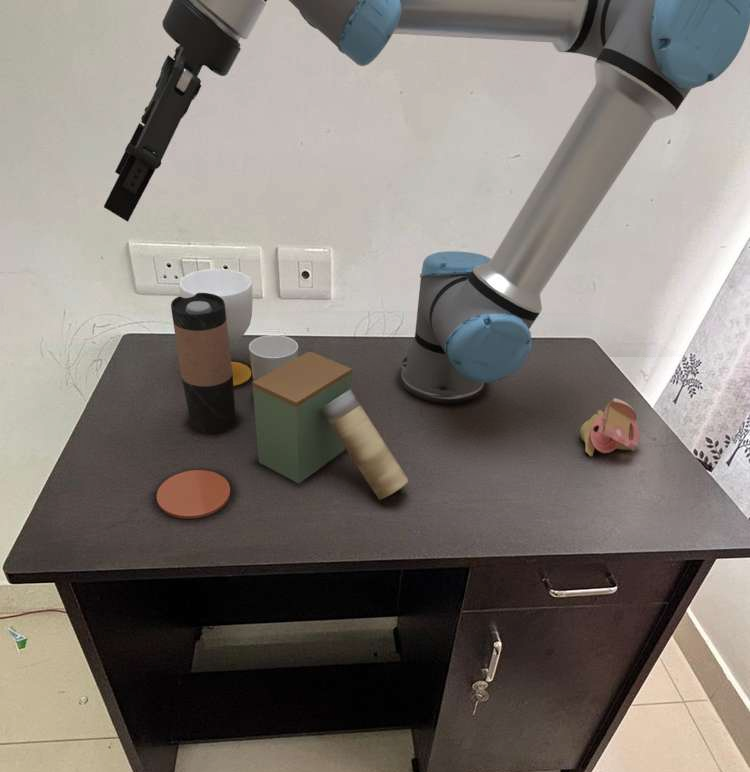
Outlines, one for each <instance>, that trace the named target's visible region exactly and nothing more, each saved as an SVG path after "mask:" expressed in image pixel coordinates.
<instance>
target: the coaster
mask: <svg viewBox="0 0 750 772" xmlns="http://www.w3.org/2000/svg"><path fill="white" fill-rule="evenodd" d="M230 498H231V486H230V483H229V481H228V480H227V479H226V478H225V477H224V476H223V475H221V474H219V473H217V472H214V471H211V470H205V469H193V470H187V471H182V472H179V473H176V474H174V475H172V476H170V477H169V478H167V479H166V480H164V482H163V481H162V483H161V485H160V486H159V487H158V489H157V492H156V502H157V505H158V508H160V510H161V511H162V512H163V513H165V514H166V515H168V516H171V517H173V518H176V519H182V520H196V519H201V518H205V517H209V516H210V515H213V514H215V513H217V512H219V511H220V510H222V508H224V507H225V506H226V505H227V504H228V502H229V500H230Z"/></svg>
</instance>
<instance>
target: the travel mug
mask: <svg viewBox="0 0 750 772" xmlns="http://www.w3.org/2000/svg"><path fill="white" fill-rule="evenodd" d="M170 310H171V317H172V323H173V329H174V336H175V344H176V349H177V356H178V362H179V369H180V376H181V381H182V387H183V392H184V396H185V401H186V406H187V412H188V417H189V420H190V425H191V427H192V428H193V429H194V430H196V431H198V432H200V433H203V434H204V433H205V434H218V433H223V432H225V431H228V430H229V429H231V428H232V427H233V426H234V425H235V424H236V403H235V386H233V373H232V363H231V361H232V355H231V347H230V343H229V337H228V328H227V319H226V311H225V303H224V300H223V299H222V298H221V297H219V296H217V295H214V294H209V293H197V294H196V295H195V296H193V297H190V298H183V297H181V295H180V296H177V297H175V298H174V299H173V300H172V301H171V303H170Z"/></svg>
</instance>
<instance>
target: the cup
mask: <svg viewBox="0 0 750 772" xmlns="http://www.w3.org/2000/svg"><path fill="white" fill-rule="evenodd" d="M178 285H179V287H178V289H179V292H180V296H181V297H183V298H190V297H193V296H195V295H196V294H197V293H209V294H214V295H217V296H219V297H221V298H222V299H223V300H224V303H225V311H226V319H227V328H228V337H229V344H230V343H234V342H237V341H238V340H240V339H241V338H243V336H244V335H245V334H246V332H247V331H248V329H249V327H250V326H251V321H252V317H253V304H254V303H253V302H254V300H253V299H254V298H253V297H254V295H253V294H254V293H253V279H252V278H251V277H250V276H248V275H247V274H246V273H245V272H241V271H238V270H235V269H228V268H208V269H207V268H206V269H201V270H196V271H193V272H191V273H188V274H186V275H184V276H183V277H182V278H181V279H180V280H179V284H178ZM231 363H232V373H233V386H234V387H237V386H241V385H243V384H244V383H246V382H248V381H249V380H250V378H251V377H252V369H251V368H250V367H249V366H248V365H246V364H243V363H241V362H237V361H232V360H231Z"/></svg>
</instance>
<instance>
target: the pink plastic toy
mask: <svg viewBox="0 0 750 772" xmlns="http://www.w3.org/2000/svg"><path fill="white" fill-rule="evenodd" d="M579 433H580V438H581V440H582V441H583V442H584V445H585V453H587V454H588V456H590V457H593V456H594V453H595V450H597V451H598V452H600V453H603V454H607V453H611V452H613V451H615V450H627V451H628V450H629V451H632V452H633V451H635V450H636V449H637V447H638V445H639V441H640V427H639V424H638V422H637V413H636V411H635V409H634V408H633V407H632V406H631V405H630V404H629V403H627V402H626V401H624V400H623V399H619V398H616V397H614V398H613V399H612V400H610V401H609V402H608V403H607V405H606V406H605V409H604V411H603V410H600V409H598V410H597V411H596V413H594V414H592V416H591V418H590V419H588V420H586V421H585V422H584V423H583V424H582V425H581V427H580V432H579Z"/></svg>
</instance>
